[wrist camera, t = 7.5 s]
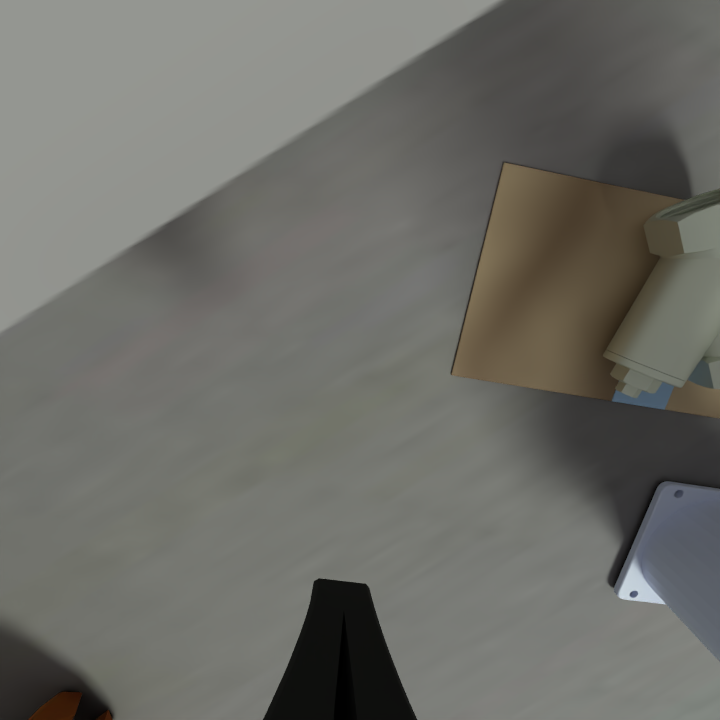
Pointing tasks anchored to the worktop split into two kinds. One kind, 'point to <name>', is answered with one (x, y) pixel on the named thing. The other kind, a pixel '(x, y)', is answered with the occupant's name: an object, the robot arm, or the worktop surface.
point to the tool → (62, 708)
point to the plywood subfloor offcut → (563, 289)
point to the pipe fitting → (675, 304)
